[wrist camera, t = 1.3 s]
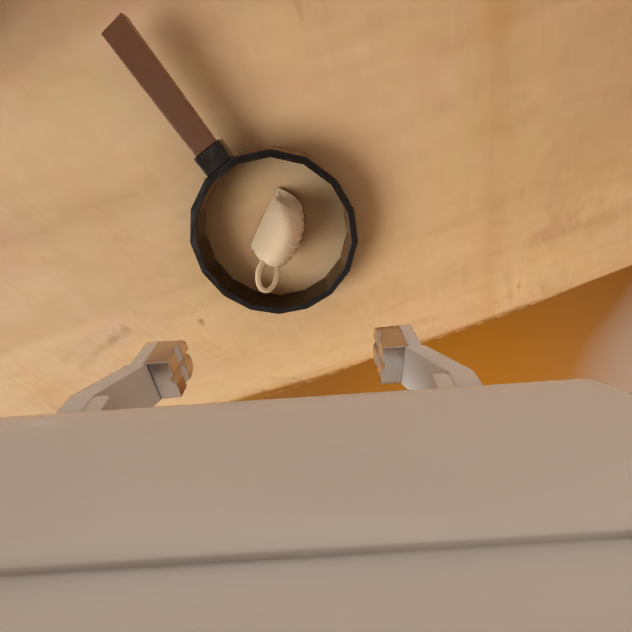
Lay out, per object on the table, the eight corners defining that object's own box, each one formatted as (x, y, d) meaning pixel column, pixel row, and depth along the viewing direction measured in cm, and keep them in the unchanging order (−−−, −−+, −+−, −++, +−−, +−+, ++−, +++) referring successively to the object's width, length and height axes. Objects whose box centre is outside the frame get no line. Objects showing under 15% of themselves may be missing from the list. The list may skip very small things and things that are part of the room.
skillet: (377, 251, 34) (384, 262, 31) (263, 320, 38) (261, 336, 35) (207, -44, 22) (194, -67, 20) (66, 100, 26) (39, 97, 23)
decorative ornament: (316, 207, 31) (319, 222, 27) (276, 276, 35) (273, 299, 30) (279, 185, 30) (276, 196, 26) (242, 258, 34) (233, 280, 29)
